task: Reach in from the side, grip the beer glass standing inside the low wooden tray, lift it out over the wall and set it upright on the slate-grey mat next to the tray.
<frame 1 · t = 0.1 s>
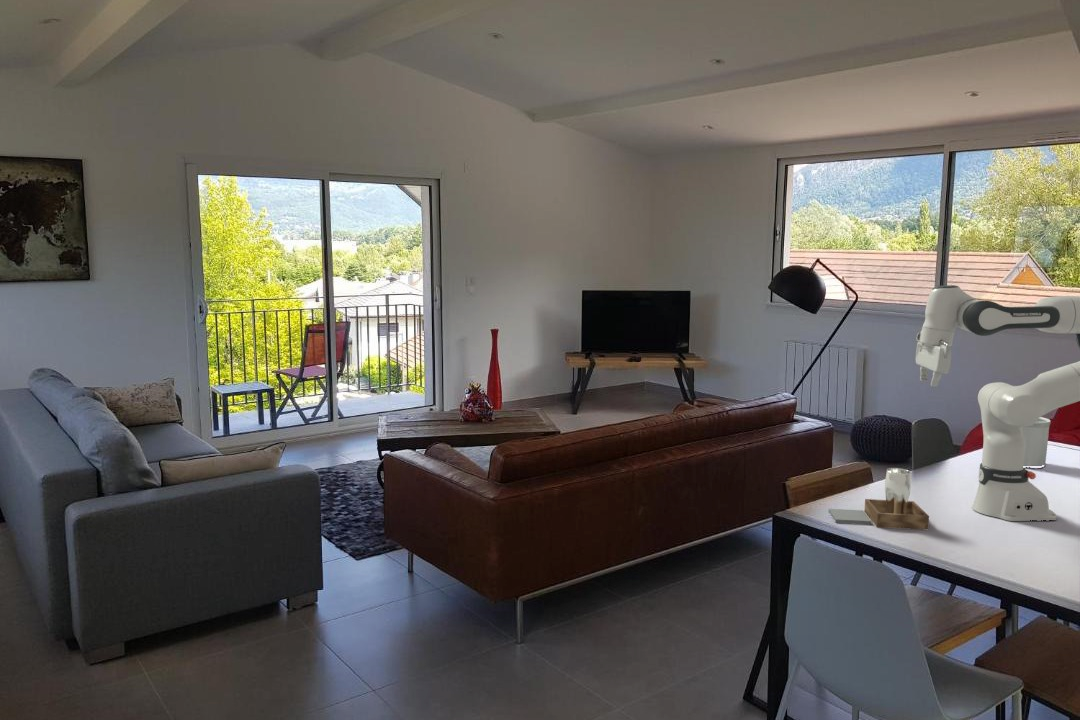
hand: (928, 383, 253), 39 cm above the table, tool pointing down, fingers open, 8 cm apart
beer glass: (895, 521, 246), resting in wooden tray
utensil holder: (1022, 464, 312), on the table
wooden tray: (895, 520, 246), on the table
slate mat: (849, 518, 247), on the table
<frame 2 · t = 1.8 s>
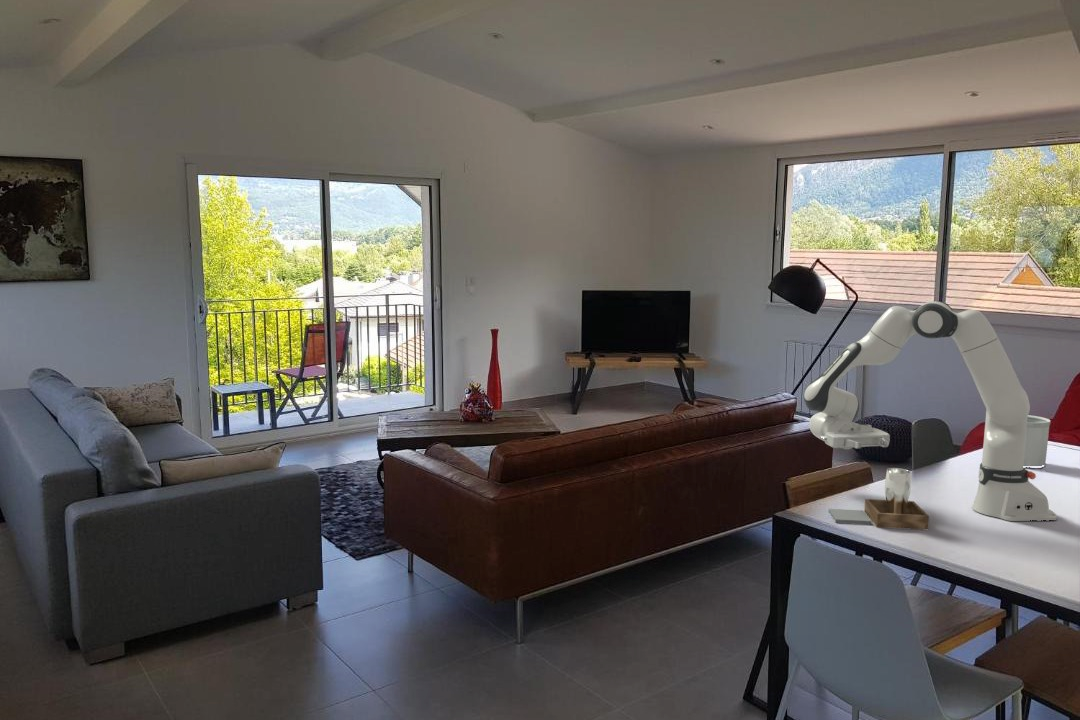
hand: (872, 445, 255), 20 cm above the table, tool horizontal, fingers open, 8 cm apart
nothing on the table moved.
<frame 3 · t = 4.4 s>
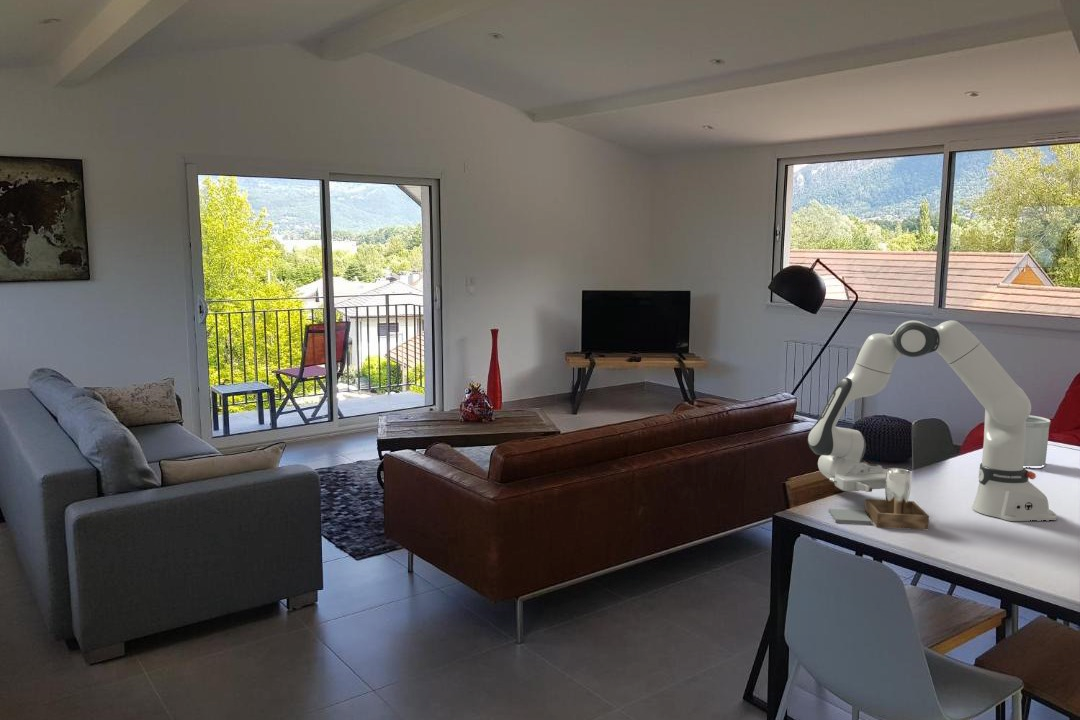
hand: (883, 488, 251), 8 cm above the table, tool horizontal, fingers open, 8 cm apart
nothing on the table moved.
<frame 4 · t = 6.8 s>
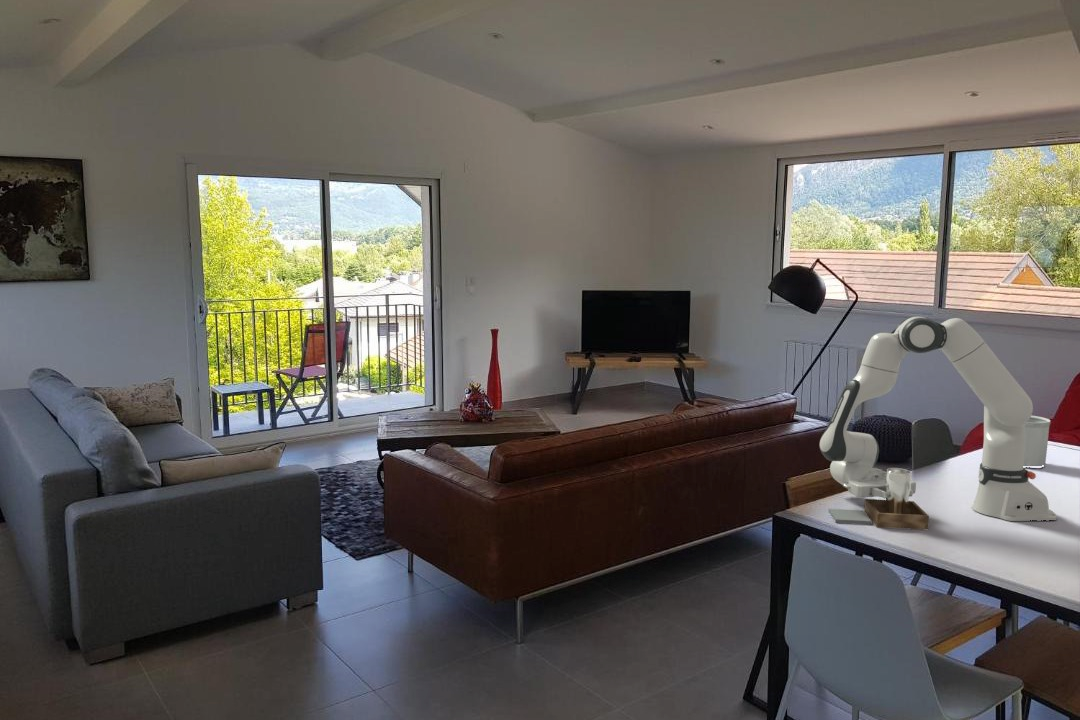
hand: (899, 494, 244), 8 cm above the table, tool horizontal, fingers closed on beer glass, 6 cm apart
beer glass: (895, 521, 246), resting in wooden tray, touching gripper
everything else where it was.
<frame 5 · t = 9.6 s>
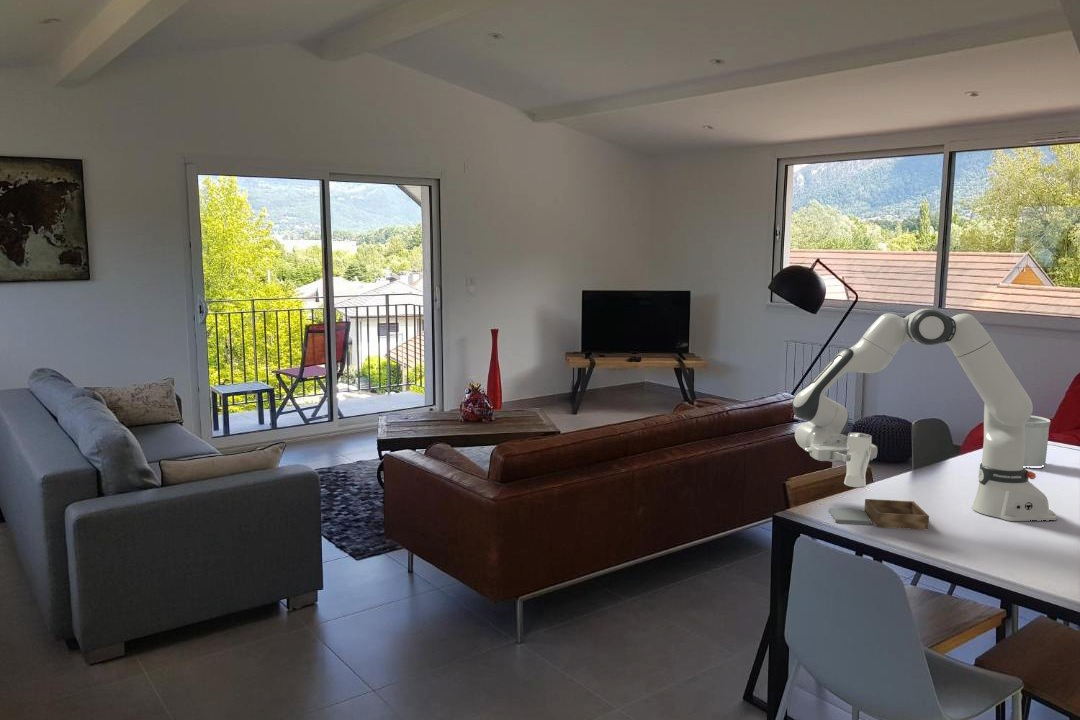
hand: (859, 458, 244), 18 cm above the table, tool horizontal, fingers closed on beer glass, 6 cm apart
beer glass: (854, 485, 246), point 10 cm above the table, touching gripper
everything else where it was.
when the fingers open (10 cm above the table, at t = 12.6 s): beer glass moves 1 cm, resting on slate mat.
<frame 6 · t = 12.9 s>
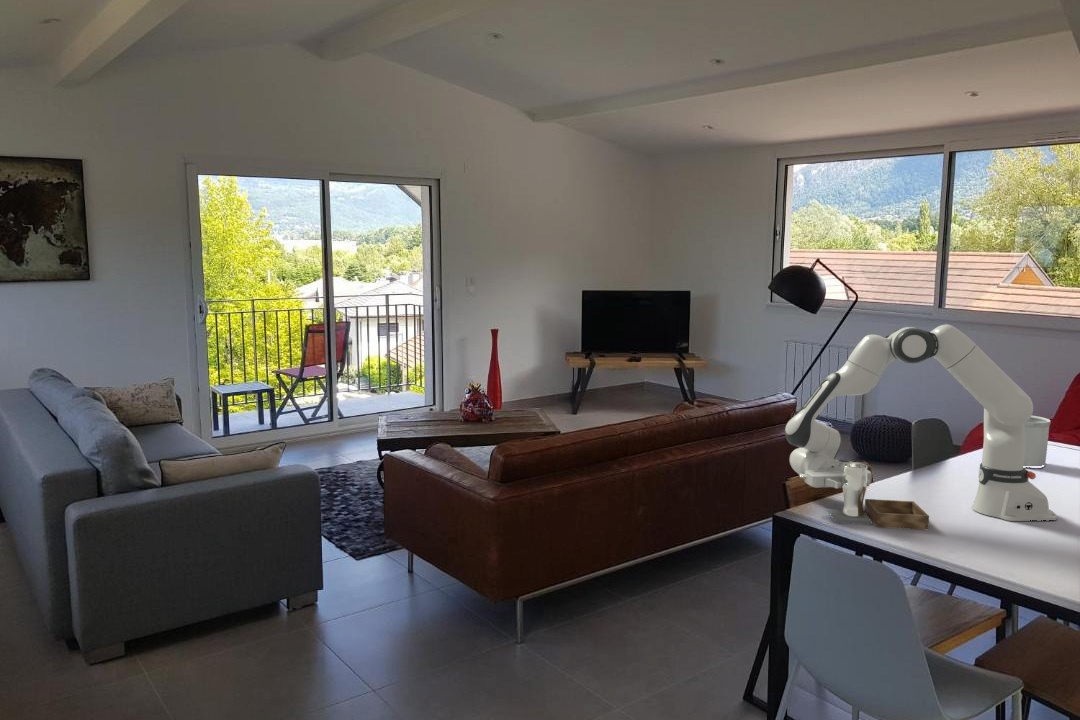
hand: (853, 484, 245), 10 cm above the table, tool horizontal, fingers open, 8 cm apart
beer glass: (852, 515, 248), point 1 cm above the table, touching gripper, slate mat
everything else where it was.
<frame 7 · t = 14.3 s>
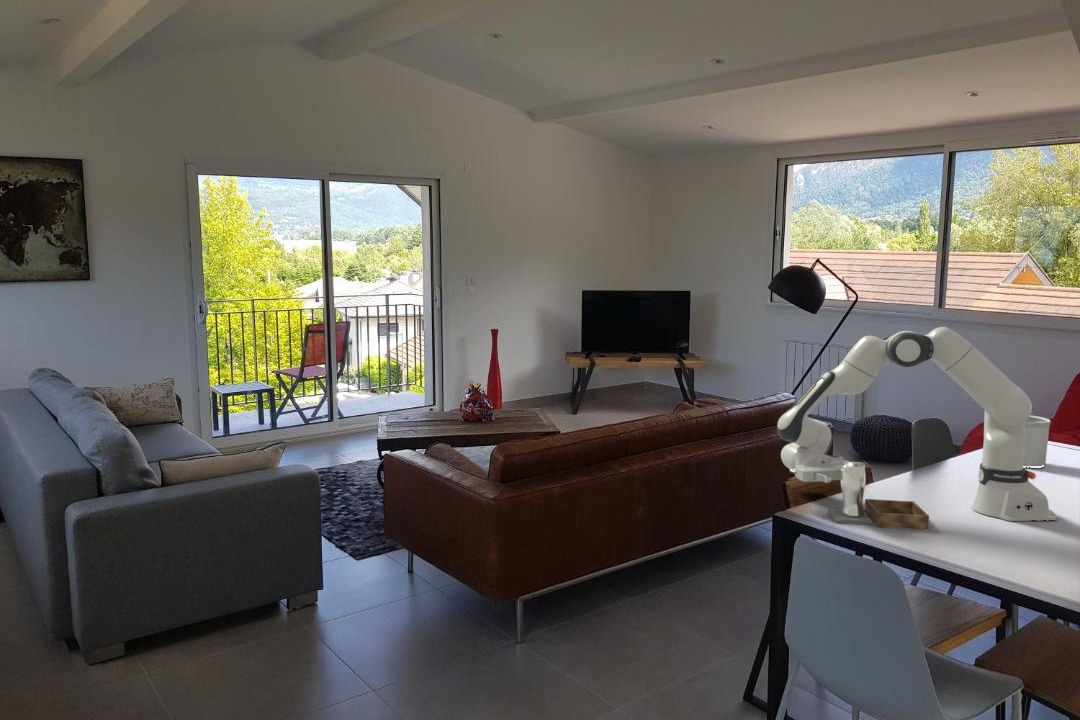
hand: (842, 479, 250), 11 cm above the table, tool horizontal, fingers open, 8 cm apart
beer glass: (852, 514, 248), point 1 cm above the table, touching slate mat
everything else where it was.
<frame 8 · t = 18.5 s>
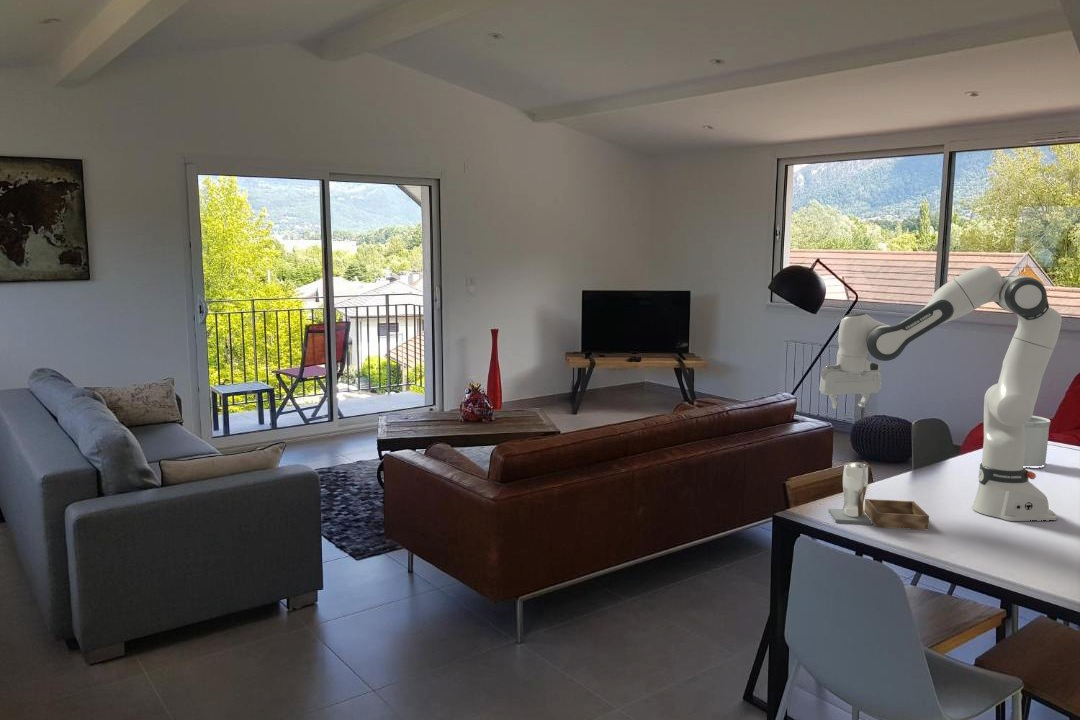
hand: (848, 407, 265), 29 cm above the table, tool pointing down, fingers open, 8 cm apart
nothing on the table moved.
at the end: beer glass 1.2 cm off-centre on the slate mat, point 0.8 cm above the slate mat's base; beer glass tilted 0°; the gripper is holding nothing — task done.
